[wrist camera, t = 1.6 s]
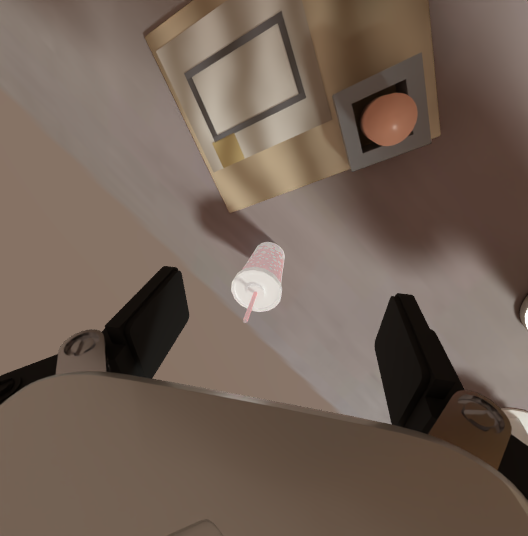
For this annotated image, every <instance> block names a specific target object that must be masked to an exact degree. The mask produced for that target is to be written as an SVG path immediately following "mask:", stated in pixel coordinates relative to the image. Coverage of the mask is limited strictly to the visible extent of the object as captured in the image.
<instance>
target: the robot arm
mask: <svg viewBox="0 0 528 536" xmlns="http://www.w3.org/2000/svg"><path fill="white" fill-rule="evenodd" d="M188 319H189V311H188V305H187V300H186V295H185V289H184V284H183V279H182V273H181V272H180V271H178V269H177V268H176V267H168V266H164V267H162V268H161V269H160V270H159V271H158V272H157V273H156V274H155V275H154V276H153V277H152V278H151V279H150V280H149V281H148V283H147V284H146V285H144V287H143V288H142V289H141V290H140V291H139V292H138V293H137V294H136V295H135V296H134V297H133V298H132V299H131V300H130V301H129V302H128V303H127V304H126V305H125V306H124V307H123V308H122V309H121V310H120V311H119V312H118V313H117V314H116V315H115V316H114V317H113V318H112V319H111V320H110V321H109V322H108V323H107V324H106V325H105V329H104V330H103V331H102V332H101V331H99V330H85V331H81V332H79V333H77V334H74V335H73V336H71V337H70V338H68V339H67V340H66V341H64V343H63V344H62V345H61V346H60V349H59V352H58V354H57V355H54V356H52V357H49V358H46V359H44V360H41V361H38V362H36V363H33V364H30V365H28V366H25V367H22V368H20V369H17V370H14V371H12V372H9V373H6V374H4V375H1V376H0V536H528V446H527V445H526V444H524V443H523V442H522V441H520V440H519V439H518V438H516V437H515V436H513V435H512V434H511V431H512V426H511V424H510V421H509V419H508V417H507V416H506V414H505V413H504V412H503V411H502V410H501V409H500V408H499V407H498V406H497V405H496V404H495V403H494V402H492V401H491V400H490V399H488V398H487V397H485V396H483V395H481V394H479V393H476V392H473V391H468V390H464V388H463V386H462V384H461V382H460V380H459V378H458V376H457V374H456V372H455V370H454V368H453V366H452V364H451V362H450V360H449V358H448V356H447V354H446V352H445V350H444V348H443V346H442V345H441V343H440V341H439V339H438V337H437V335H436V333H435V332H434V331H433V330H431V329H430V328H429V326H428V324H427V322H426V320H425V318H424V316H423V314H422V312H421V310H420V308H419V306H418V304H417V302H416V300H415V298H414V296H413V295H408V294H400V293H397V294H396V295H395V296H391V298H390V300H389V303H388V306H387V309H386V312H385V314H384V317H383V320H382V323H381V326H380V329H379V331H378V334H377V337H376V340H375V352H376V356H377V361H378V365H379V370H380V374H381V379H382V383H383V387H384V392H385V396H386V401H387V405H388V410H389V414H390V419H391V423H392V425H391V424H386V423H382V422H377V421H372V420H367V419H363V418H358V417H353V416H348V415H343V414H338V413H333V412H328V411H322V410H317V409H312V408H307V407H301V406H297V405H291V404H286V403H280V402H275V401H270V400H265V399H260V398H254V397H249V396H244V395H239V394H233V393H228V392H222V391H217V390H211V389H206V388H201V387H195V386H190V385H184V384H179V383H173V382H168V381H162V380H156V379H152V378H153V376H154V374H155V373H156V371H157V370H158V368H159V367H160V365H161V363H162V362H163V360H164V358H165V357H166V355H167V354H168V352H169V350H170V349H171V347H172V346H173V344H174V342H175V341H176V339H177V337H178V335H179V334H180V333H181V331H182V329H183V328H184V326H185V324H186V323H187V321H188ZM520 319H521V322H522V324H523V325H524V327H525V328H526V329H527V330H528V295H527V297H526V298H525V300H524V301H523V303H522V306H521V308H520Z"/></svg>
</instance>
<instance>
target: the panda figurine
mask: <svg viewBox="0 0 528 536" xmlns="http://www.w3.org/2000/svg"><path fill="white" fill-rule="evenodd" d="M500 409H501V410H502V411H503V412H504V413H505V414H506V416H507V417H508V419H509V421H510V424H511V426H512V431H511V434H512V435H513V436H515V437H516V438H518V439H519V440H520V441H522V442H523V443H524V444H526V445H527V446H528V412H527V411H524V410H520V409H513V408H500Z"/></svg>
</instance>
